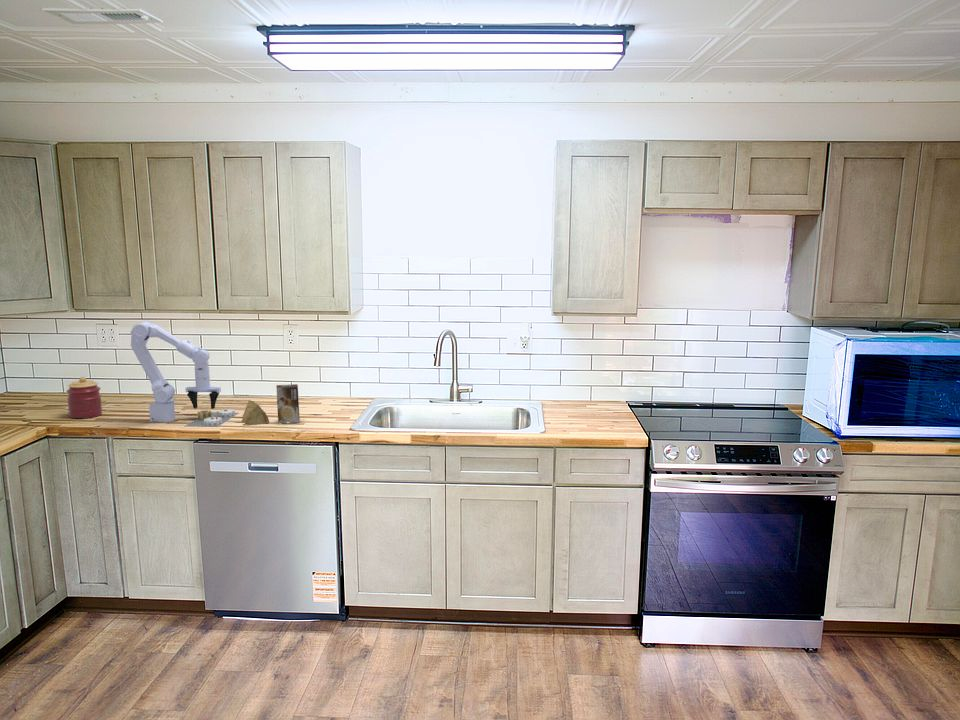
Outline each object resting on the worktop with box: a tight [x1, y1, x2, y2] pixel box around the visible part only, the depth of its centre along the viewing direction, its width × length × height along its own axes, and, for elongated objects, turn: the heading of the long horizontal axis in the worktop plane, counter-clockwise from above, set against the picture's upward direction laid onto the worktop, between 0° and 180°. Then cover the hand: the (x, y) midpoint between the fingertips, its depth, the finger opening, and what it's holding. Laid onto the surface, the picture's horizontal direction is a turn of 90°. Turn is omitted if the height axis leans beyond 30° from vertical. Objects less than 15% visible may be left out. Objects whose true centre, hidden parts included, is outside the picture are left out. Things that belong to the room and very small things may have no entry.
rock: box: [241, 400, 270, 426], centre depth 283 cm, size 11×9×10 cm
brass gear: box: [196, 409, 212, 420], centre depth 287 cm, size 6×6×3 cm
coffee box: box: [275, 383, 301, 424], centre depth 287 cm, size 9×6×16 cm
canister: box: [66, 376, 103, 419], centre depth 292 cm, size 13×13×18 cm
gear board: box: [185, 408, 239, 428], centre depth 286 cm, size 14×24×4 cm, turn 179°
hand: (204, 408), depth 287 cm, fingers open, 7 cm apart
